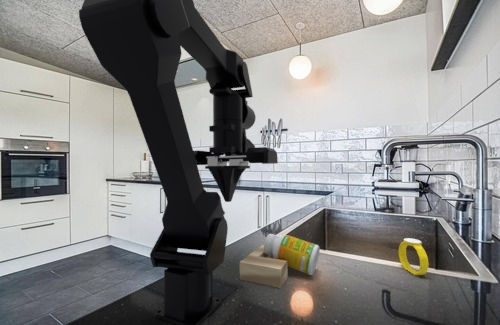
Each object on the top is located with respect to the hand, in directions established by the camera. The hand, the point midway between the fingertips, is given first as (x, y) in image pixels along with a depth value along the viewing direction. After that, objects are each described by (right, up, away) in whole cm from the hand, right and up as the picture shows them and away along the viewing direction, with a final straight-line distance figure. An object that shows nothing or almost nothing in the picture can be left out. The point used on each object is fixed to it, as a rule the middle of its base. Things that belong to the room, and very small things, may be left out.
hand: (228, 201), depth 47 cm
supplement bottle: (+16, -10, -3) cm, 20 cm away
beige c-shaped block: (+9, -13, 0) cm, 16 cm away
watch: (+35, -13, -2) cm, 37 cm away
